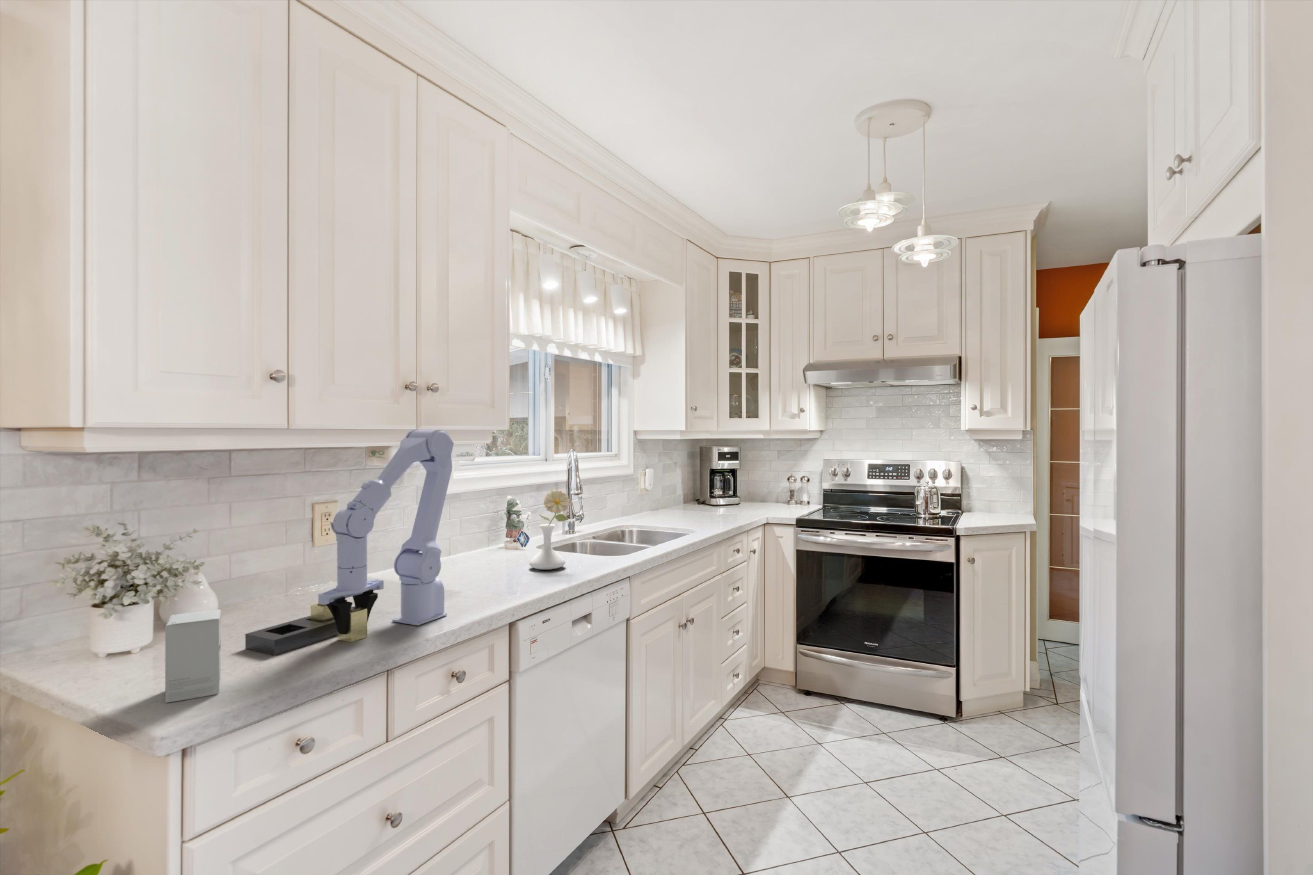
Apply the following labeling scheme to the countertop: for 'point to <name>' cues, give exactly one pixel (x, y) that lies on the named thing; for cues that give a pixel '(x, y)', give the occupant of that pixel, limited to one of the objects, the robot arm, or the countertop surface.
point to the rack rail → (289, 636)
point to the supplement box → (192, 655)
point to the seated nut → (321, 613)
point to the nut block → (356, 625)
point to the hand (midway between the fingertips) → (352, 630)
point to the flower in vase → (547, 555)
